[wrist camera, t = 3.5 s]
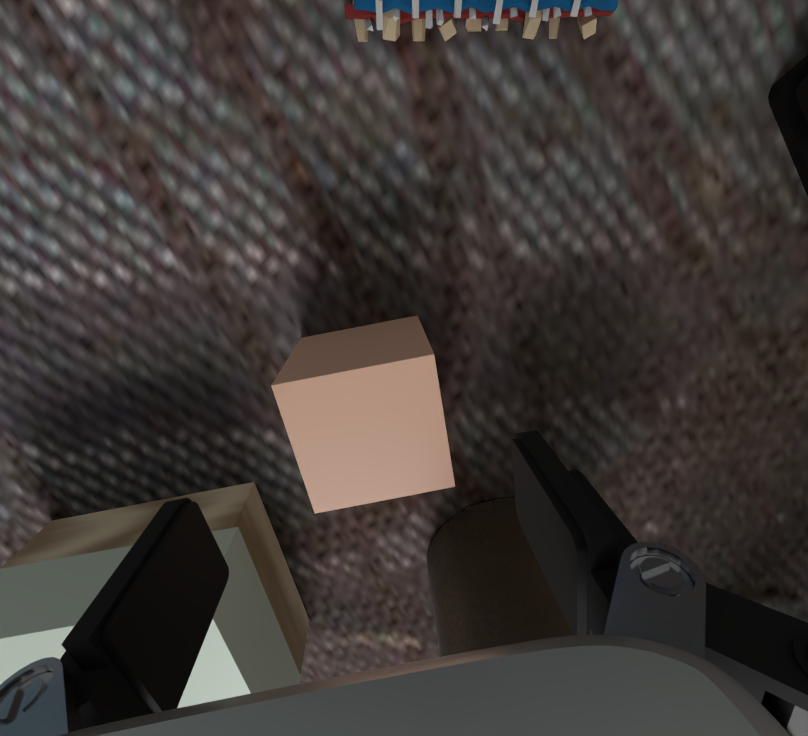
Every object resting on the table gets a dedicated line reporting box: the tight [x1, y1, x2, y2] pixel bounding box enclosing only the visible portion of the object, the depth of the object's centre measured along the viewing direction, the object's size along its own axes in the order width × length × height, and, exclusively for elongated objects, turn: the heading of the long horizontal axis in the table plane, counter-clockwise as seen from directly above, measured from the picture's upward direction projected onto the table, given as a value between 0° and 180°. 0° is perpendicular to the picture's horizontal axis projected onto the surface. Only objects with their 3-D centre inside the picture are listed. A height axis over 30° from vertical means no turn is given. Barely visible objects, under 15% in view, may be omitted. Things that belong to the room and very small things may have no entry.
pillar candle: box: [427, 498, 573, 657], centre depth 19 cm, size 10×10×15 cm
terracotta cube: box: [271, 315, 455, 513], centre depth 18 cm, size 6×6×6 cm
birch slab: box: [0, 482, 309, 674], centre depth 23 cm, size 12×12×4 cm
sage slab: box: [0, 527, 301, 708], centre depth 19 cm, size 12×12×4 cm
